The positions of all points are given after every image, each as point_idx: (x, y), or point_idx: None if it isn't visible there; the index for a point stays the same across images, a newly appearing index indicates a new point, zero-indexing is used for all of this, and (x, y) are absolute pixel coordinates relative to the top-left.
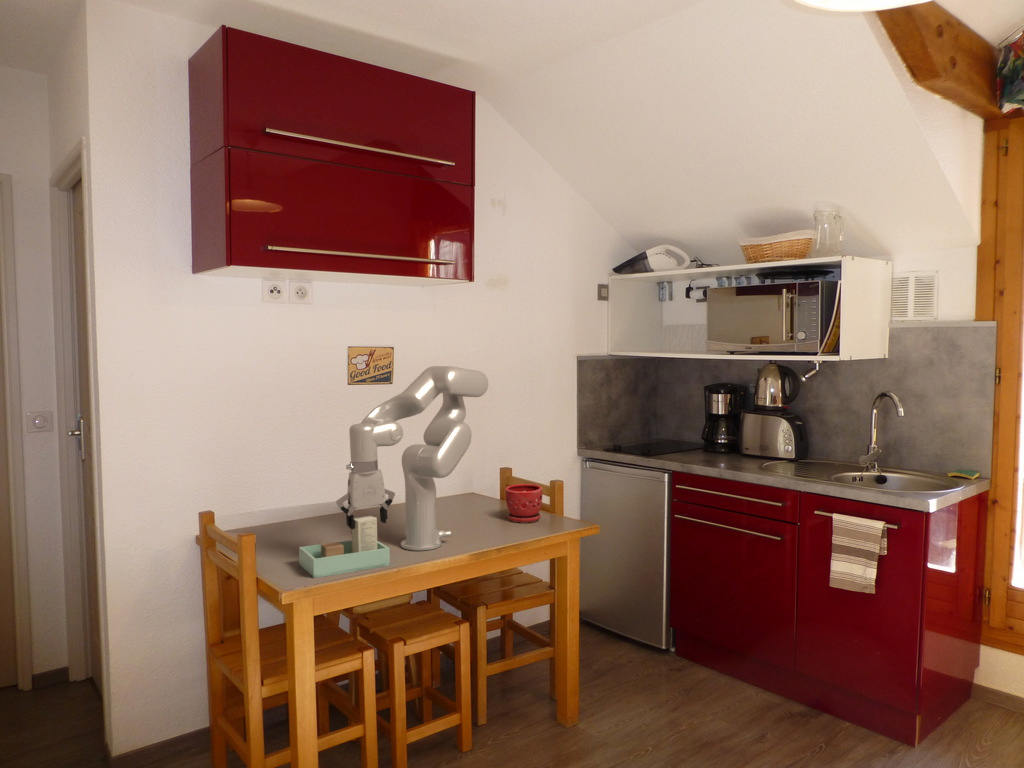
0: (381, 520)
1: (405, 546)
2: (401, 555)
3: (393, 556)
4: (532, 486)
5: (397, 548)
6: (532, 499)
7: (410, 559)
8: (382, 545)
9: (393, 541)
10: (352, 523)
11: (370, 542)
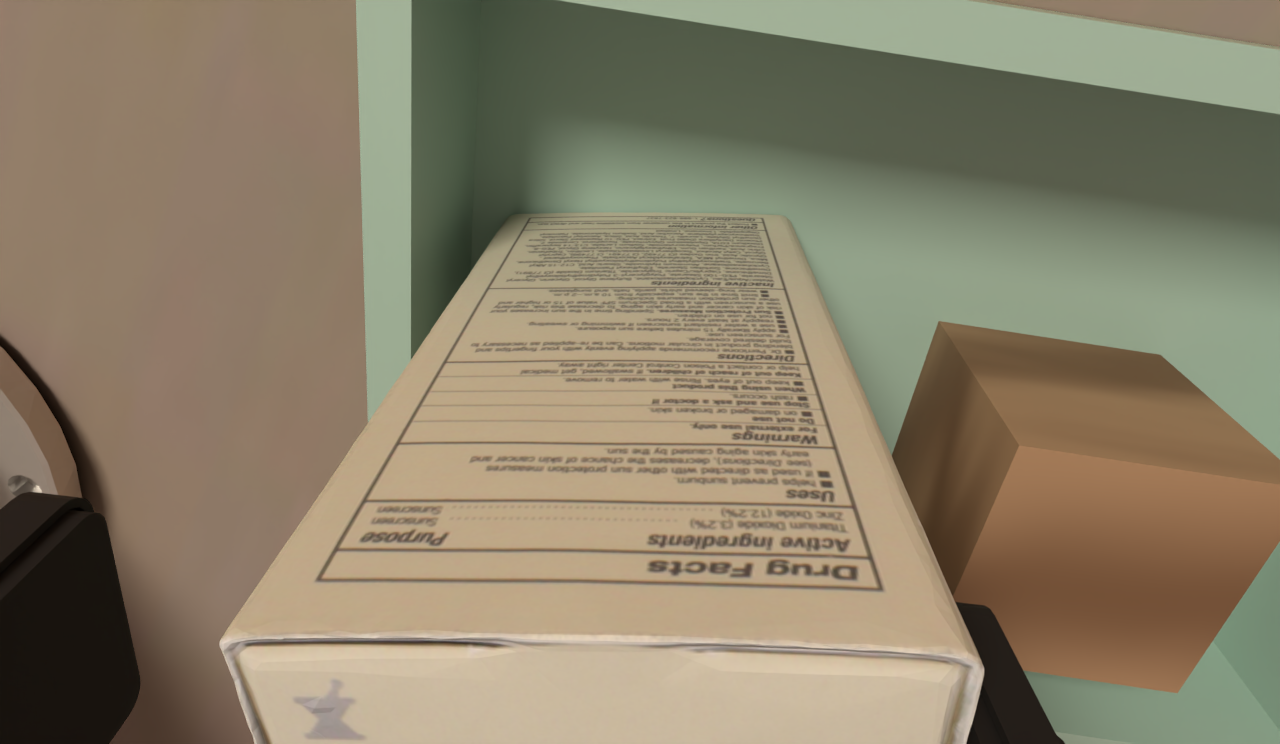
0: (108, 662)
1: (33, 432)
2: (160, 256)
3: (262, 281)
4: None
5: (134, 503)
6: None
7: (91, 13)
8: (402, 188)
9: None
10: (1029, 715)
11: (586, 305)
